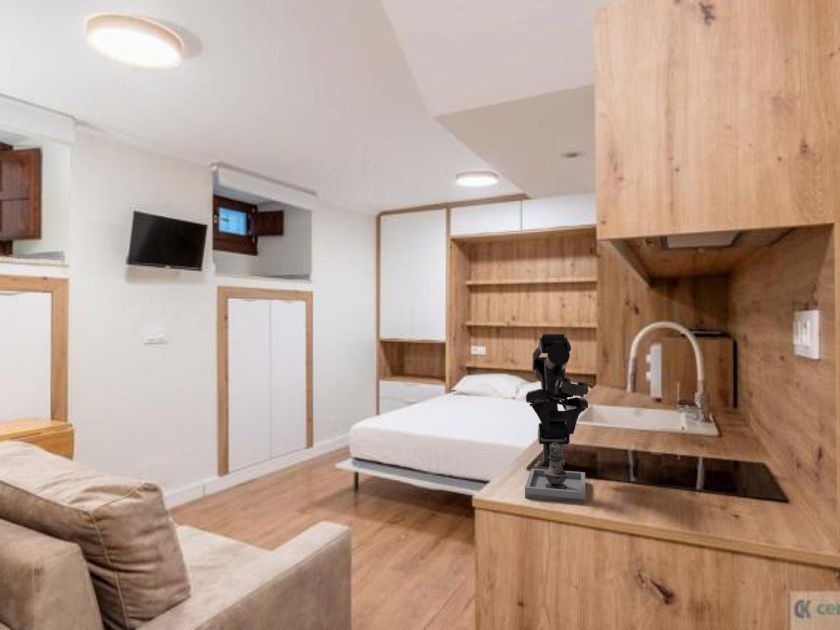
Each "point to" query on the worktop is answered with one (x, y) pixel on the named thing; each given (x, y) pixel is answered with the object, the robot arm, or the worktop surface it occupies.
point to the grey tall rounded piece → (555, 468)
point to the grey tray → (571, 494)
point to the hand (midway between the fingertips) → (559, 432)
